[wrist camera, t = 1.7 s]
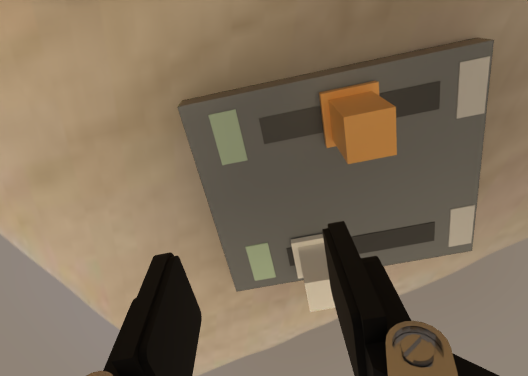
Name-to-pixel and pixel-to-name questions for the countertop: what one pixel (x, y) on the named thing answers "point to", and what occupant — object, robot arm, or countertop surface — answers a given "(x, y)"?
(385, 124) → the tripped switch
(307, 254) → the switch
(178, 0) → the countertop surface
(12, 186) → the countertop surface
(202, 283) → the countertop surface
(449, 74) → the panel
